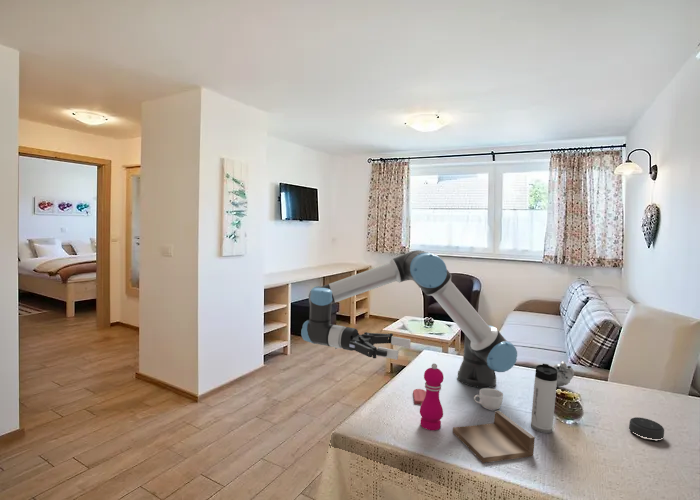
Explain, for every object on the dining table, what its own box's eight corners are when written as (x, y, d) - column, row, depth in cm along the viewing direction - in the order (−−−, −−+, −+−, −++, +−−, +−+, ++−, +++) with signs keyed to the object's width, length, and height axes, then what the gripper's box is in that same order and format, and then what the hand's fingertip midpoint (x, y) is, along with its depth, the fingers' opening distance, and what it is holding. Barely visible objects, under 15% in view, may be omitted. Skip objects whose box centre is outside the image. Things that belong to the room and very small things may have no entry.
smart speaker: (646, 443, 123) (648, 431, 123) (621, 428, 132) (623, 417, 132) (670, 442, 125) (672, 429, 125) (644, 427, 134) (645, 415, 134)
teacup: (495, 402, 147) (497, 388, 147) (505, 412, 139) (507, 397, 139) (469, 402, 146) (470, 387, 146) (477, 412, 138) (478, 397, 138)
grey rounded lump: (575, 386, 165) (572, 356, 165) (576, 394, 156) (572, 363, 156) (548, 385, 169) (544, 356, 170) (547, 392, 161) (543, 362, 161)
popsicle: (415, 406, 138) (412, 388, 153) (415, 410, 138) (412, 392, 153) (431, 407, 138) (426, 389, 153) (431, 411, 138) (426, 393, 153)
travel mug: (550, 425, 132) (556, 365, 130) (553, 435, 126) (559, 372, 124) (529, 421, 134) (534, 362, 132) (531, 430, 128) (537, 368, 126)
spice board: (497, 427, 129) (499, 410, 128) (533, 456, 114) (534, 437, 113) (452, 432, 124) (453, 414, 124) (483, 463, 109) (484, 443, 109)
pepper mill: (416, 419, 131) (420, 359, 130) (438, 419, 132) (442, 359, 130) (422, 431, 124) (426, 367, 122) (445, 431, 125) (449, 368, 123)
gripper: (358, 339, 150) (413, 349, 142) (326, 359, 128) (391, 373, 119) (359, 319, 150) (415, 328, 141) (328, 335, 127) (392, 348, 118)
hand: (404, 349), depth 130 cm, fingers open, 13 cm apart
